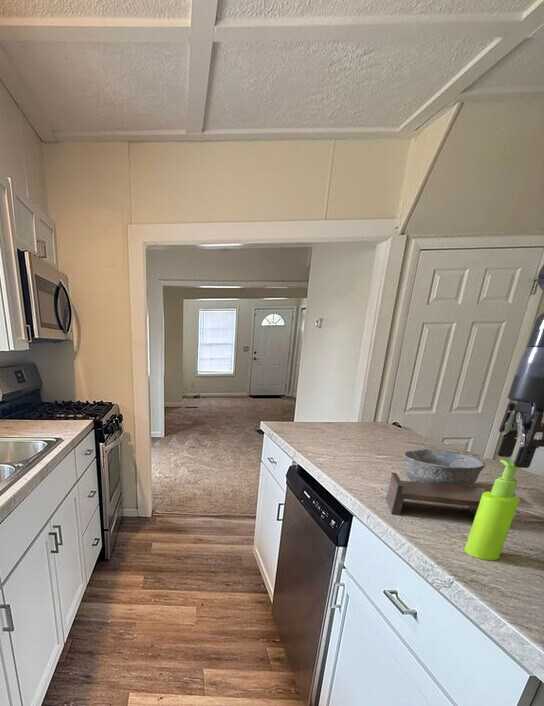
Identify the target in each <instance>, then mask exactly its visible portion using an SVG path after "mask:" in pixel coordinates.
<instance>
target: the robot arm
mask: <svg viewBox="0 0 544 706" xmlns="http://www.w3.org/2000/svg"><path fill="white" fill-rule="evenodd" d="M536 282H537V286H538V288H539V289H540V290H541V291H542V292H544V263H543V264H542V265H541V267H540V269H539V271H538V274H537V279H536ZM507 399H508V400H510V401H513V402H508V403H507V406H506V409H505V412H504V415H503V418H502V420H501V423H500V427H499V429H498V432H499V433H501V435H500V436H501V440H500V444H499V446H498V451H497V453H496V455H497V456H498V457H500V458H501V457H503V458H510V457H512V456H513V453H514V450H515V447H516V444H517V441H518V438H520V444H519V448H518V450H517V452H516V453H517V454H516V455H515V458H514V460H513V461H514V466H516V467H520V469H528V468H529V467H530V466H531V464H532V461H533V459H534V456H535V453H536V450H537V449H539V448H544V311H542V312H541V313H539V314H538V315H537V316H536V318H535V319H534V322H533V324H532V326H531V330H530V332H529V335H528V338H527V342H526V345H525V348H524V350H523V353H522V354H521V357H520V358H519V361H518V363H517V366H516V371H515V373H514V375H513V379H512V382H511V386H510V388H509V392H508V394H507Z"/></svg>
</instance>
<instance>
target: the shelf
mask: <svg viewBox="0 0 544 706" xmlns="http://www.w3.org/2000/svg"><path fill="white" fill-rule="evenodd" d="M483 492H488V491H487V490H486V489H485V488H482V487H474V486H473V487H472V486H468V487H463V486H453V485H443V484H432V483H422V482H412V481H411V480H401V478H400V477H399V475H398V472H391V475H390V479H389V483H388V488H387V493H386V497H385V500H386V503H387V506H388V508H389V511H390V514H391V515H397V516H401V513H402V508H403V506H404V505H403V504H404V500H409V501H417V502H427V503H435V504H444V505H454V506H463V507H468V510H469V511H470V512H471V514H472V515H474V517H475V515H476V512H477V509H478V506H479V503H480V500H481V497H482V494H483Z"/></svg>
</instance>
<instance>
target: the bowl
mask: <svg viewBox="0 0 544 706" xmlns="http://www.w3.org/2000/svg"><path fill="white" fill-rule="evenodd" d="M403 460H404V467H403V472H404V474H405V475H406V476H407V478H408V479H409V481H412V482H422V483H432V484H443V485H453V486H463V487H471V485H473V484H474V483H476V481H477V480H478V478H479V476H480V473H481V472H482V471H483V470H484V468H485V467H486V465H487V464H486V462H484V461H482V460H480V459H478V458H475V457H472V456H469V455H466V454H462V453H457V452H453V451H445V450H435V449H418V450H413V451H412V450H408V451H405V452H404V453H403Z"/></svg>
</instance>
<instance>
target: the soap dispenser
mask: <svg viewBox="0 0 544 706" xmlns="http://www.w3.org/2000/svg"><path fill="white" fill-rule="evenodd" d="M514 461H515V460H511V459H499V463H501V464H503V465H504V469H503V472H502V475H501V476H497V477H495V479H494V482H493V485H492V488H491V491H489V490H488V491H487V492H483V494H482V497H481V500H480V503H479V506H478V509H477V512H476V515H475V516H474V518H473V522H472V524H471V528H470V531H469V534H468V537H467V540H466V543H465V547H464V552H465V554H467V555H469V556H471V557H472V558H475V559H479V560H483V561H497V560H498V559H500V555H501V553H502V550H503V547H504V544H505V541H506V539H507V536H508V533H509V531H510V528H511V525H512V523H513V520H514V517H515V514H516V512H517V509H518V506H519V504H520V501H521V500H520V498H519V497H518V496H515V495H514V493H515V490H516V487H517V484H518V480H517V479H516V478H515V477H514V476H515V474H516V470H520V469H521V468H520V467H516V466H514Z"/></svg>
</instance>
